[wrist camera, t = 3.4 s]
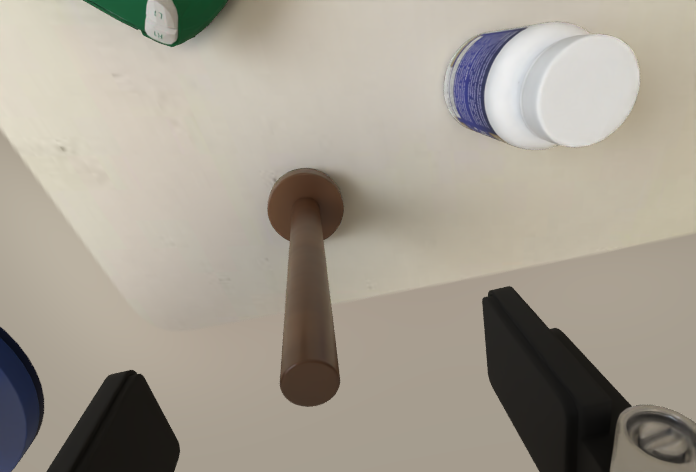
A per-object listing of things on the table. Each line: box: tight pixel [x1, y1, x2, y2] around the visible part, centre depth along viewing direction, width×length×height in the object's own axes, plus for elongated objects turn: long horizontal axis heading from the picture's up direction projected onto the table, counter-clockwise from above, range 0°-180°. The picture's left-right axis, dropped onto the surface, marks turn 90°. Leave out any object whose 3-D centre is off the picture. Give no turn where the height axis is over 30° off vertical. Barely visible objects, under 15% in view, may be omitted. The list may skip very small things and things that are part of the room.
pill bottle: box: [444, 22, 640, 150], centre depth 19 cm, size 5×5×9 cm
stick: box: [267, 168, 344, 407], centre depth 18 cm, size 4×4×15 cm
